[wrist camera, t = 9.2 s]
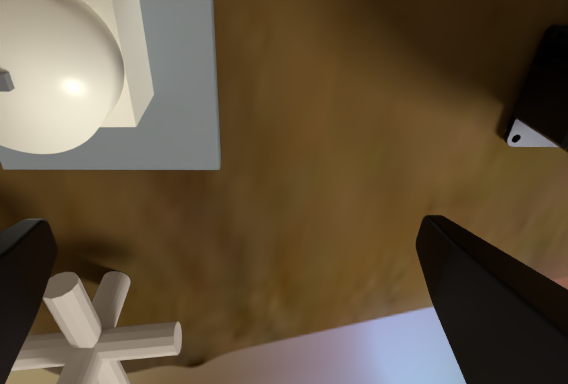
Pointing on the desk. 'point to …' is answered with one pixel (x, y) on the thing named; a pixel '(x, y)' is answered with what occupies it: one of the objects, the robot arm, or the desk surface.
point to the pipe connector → (94, 333)
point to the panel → (158, 103)
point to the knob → (70, 71)
